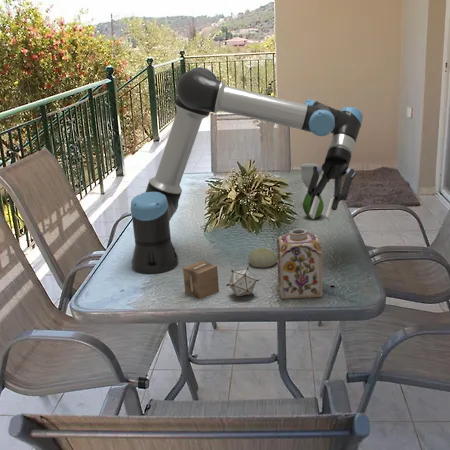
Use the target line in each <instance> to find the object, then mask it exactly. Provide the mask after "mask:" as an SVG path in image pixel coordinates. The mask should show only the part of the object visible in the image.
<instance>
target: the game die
mask: <svg viewBox="0 0 450 450" xmlns="http://www.w3.org/2000/svg"><path fill="white" fill-rule="evenodd" d="M249 269H250V268H249V266H247V267H246V268H245V269H241V270H235V271H234V270H233V269H231V270H230V271H231V273H232V274H231V276H230V279H229V282H228V283H226V284H225V286H227V287H228V286H229V287H230V289H231V291H232V292H233V293H234V295H235V296H236V297H235V299H236V300H237V299H238V298H239V297H242V296H247V295H251V296H254V293H253V291H254V289H255V286H256V284H257V282H259V281H260V279H256V278H255V276H254V275H253V274H252V273H251V272H250V270H249Z"/></svg>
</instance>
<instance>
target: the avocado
mask: <svg viewBox="0 0 450 450" xmlns="http://www.w3.org/2000/svg"><path fill="white" fill-rule="evenodd" d="M311 199H312V197H310V196H309V194H308V192H307V191H306V195H305V196H304V199H303V202H302V209H303V212H304V214H305V215H306V216H307V217H308V218H310V219H312V218H311V217H310V215H309V213H310V210H311V206H310V202H311ZM319 200H320V202H319V205H318V208H317V211H316V214H315V218H314V219H317V218H319V217H320V216H321V215H322V214H323V210H324V201H323V198H322V196H321V194H320V196H319Z"/></svg>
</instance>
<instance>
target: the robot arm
mask: <svg viewBox="0 0 450 450" xmlns="http://www.w3.org/2000/svg"><path fill="white" fill-rule="evenodd" d="M176 94H177V96H176V98H175V102H174V105H175V107H176V108H175V109H176V113H175V117H174V119H173V123H172V126H171V128H170V132H169V134H168V137H167V141H166V144H165V146H164V150H163V153H162V156H161V159H160V162H159V165H158V168H157V170H156V173H155V176H154V177H151V178H150V179H149V181H148V184H147V186H146V190H145V192H142V193H140V194H137V195H135V196H134V197H133V198H132V199H131V202H130V213H131V218H132V219H131V220H132V227H133V236H134V245H135V246H134V249H133V255H132V258H131V259H132V260H131V267H132V270H133V271H135V272H137V273H140V274H150V275H151V274H159V273H164V272H168V271H171V270H173V269H174V268H176V267H177V266H178V264H179V257H178V254H177V251H176V249H175V247H174V245H173V242H172V238H171V237H172V236H171V228H170V227H171V226H170V222H171V219H172V218H173V216H174V215H175V213H177V210H178V207H179V201H180V198H181V195H182V193H183V190H182V187H181V186H180V185H181V182H182V178H183V176H184V173H185V170H186V167H187V164H188V161H189V160H190V159H189V158H190V155H191V152H192V150H193V147H194V145H195V141H196V138H197V137H198V136H197V135H198V133H199V130H200V127H201V124H202V122H203V120H204V119H205V118H207V117H209V115H210V113H214V114H217V113H218V112H224V113H228V114H233V115H236V116H237V115H238V116H242V117H246V118H250V119H255V120H260V121H263V122H267V123H272V124H276V125H280V126H285V127H289V128H292V129H293V128H294V129H297V130H300V131H305V132H309V133H312V134H314V135H315V136H318V137H326V136H328V135H330V134H332V137H331V140H330V143H329V146H328V149H327V152H326V156H325V159H324V162H323V163H322V165H321V166H317V167H316V166H314V167H313V175H312V179H311V182H310V185H309V188H308V187H307V191H306V193H307V192H308V194H309V196H310V197H312V199H311V202H310V206H311V210H310V213H309V215H310V217H311V218H310V217H309V218H310V219H312V220H315V219H316V218H315V214H316V211H317V208H318V205H319V202H320V200H319V196H320V195H321V194H322V192H323V190H324V189H325V187H326V186H327V184H328V183H329V182H330V180H334V191H333V193H334V194H333V197H331V198H330V200H329V203H328V207H327V210H326V214H325V218H326V220H327V221H328V222H329V221H330V222H331V219H332V216H333V214H334V211H337V210H338V206H339V203H340V201H346V200H347V199H348V194H349V191H350V188H351V186H352V181H353V179H354V178H355V177H356V176H357V173H356V171H355V169H354V168H350V167H349V166H350V163H351V160H352V155H353V152H354V149H355V146H356V142H357V139H358V136H359V133H360V129H361V128H362V123H363V118H364V117H363V112H362V111H361V110H360V109H359V108H357V107H354V106H352V107H351V106H344V107H342V109H341V110H339V109H335V108H333V107H331V106H328V105H326V104H324V103H322V102H319V101H318V100H313V99H311V98H308V99H306V100H305V101H304V102H303V103H301V102H297V101H292V100H288V99H284V98H279V97H275V96H271V95H267V94H263V93H258V92H255V91H249V90H247V89H242V88H238V87H233V86H230V85H226V84H225V82H224V81H223V80H219V79H218V78H217V76H216V75H215V73H214V72H213V71H211V70H210V69H208V68H204V67H193V68H191V69H190V70H188V71H186V72H185V73H183V74H181V76H180V77H179V79H178V81H177V84H176ZM322 172H323V173H322ZM321 173H322V175H321ZM320 175H321V178H320ZM345 175H346V176H345ZM344 176H345V180H344V181H343V180H342V178H343V177H344ZM319 179H320V180H319ZM342 181H343V186H342ZM341 187H342V188H341Z"/></svg>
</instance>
